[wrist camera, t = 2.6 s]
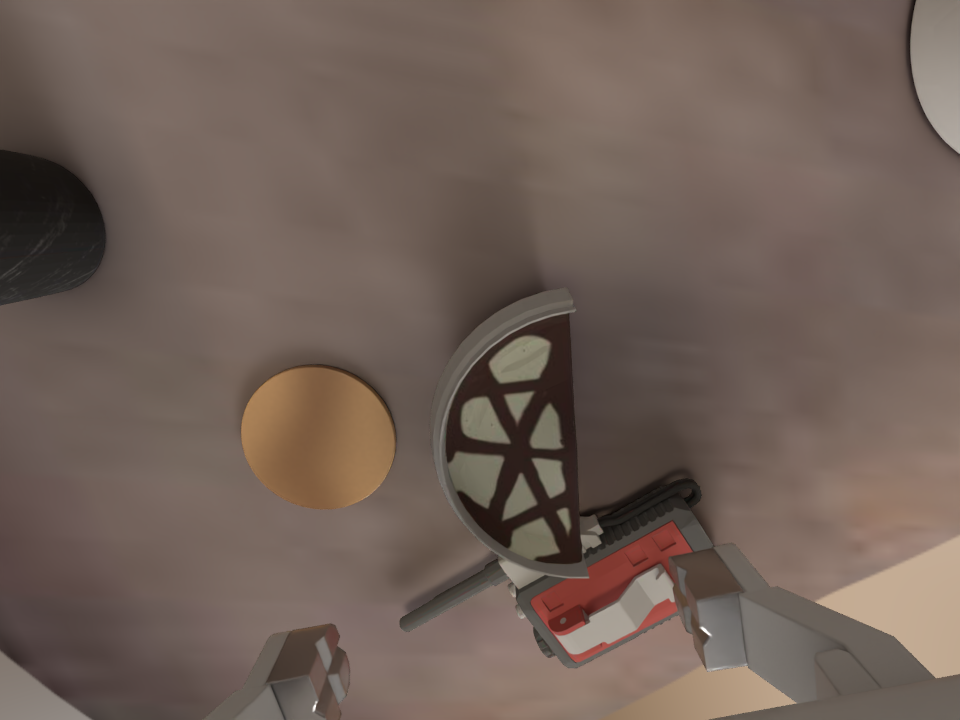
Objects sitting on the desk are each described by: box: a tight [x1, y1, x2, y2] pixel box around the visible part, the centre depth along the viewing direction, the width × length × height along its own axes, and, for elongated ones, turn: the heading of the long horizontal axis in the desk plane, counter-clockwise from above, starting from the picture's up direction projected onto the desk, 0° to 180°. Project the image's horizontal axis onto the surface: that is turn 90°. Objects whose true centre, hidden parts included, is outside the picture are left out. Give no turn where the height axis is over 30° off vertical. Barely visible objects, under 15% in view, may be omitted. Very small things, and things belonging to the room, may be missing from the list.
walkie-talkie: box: [400, 478, 714, 668], centre depth 31 cm, size 9×4×20 cm
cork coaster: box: [241, 365, 396, 509], centre depth 31 cm, size 9×9×1 cm
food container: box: [429, 287, 589, 578], centre depth 25 cm, size 12×6×10 cm, turn 6°
